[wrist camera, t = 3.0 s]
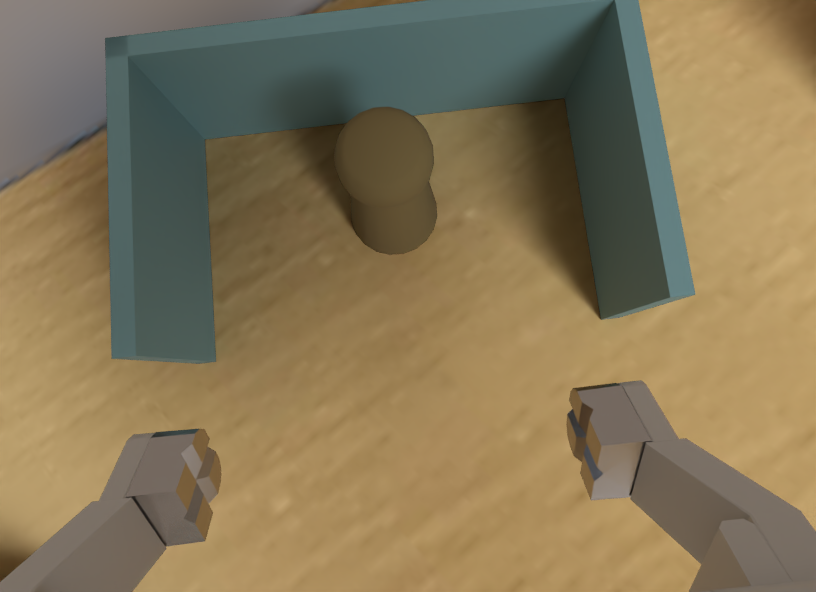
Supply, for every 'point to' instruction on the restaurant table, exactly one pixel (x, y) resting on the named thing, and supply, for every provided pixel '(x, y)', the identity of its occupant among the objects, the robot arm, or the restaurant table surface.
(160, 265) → the folding screen
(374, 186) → the cork
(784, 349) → the restaurant table surface
